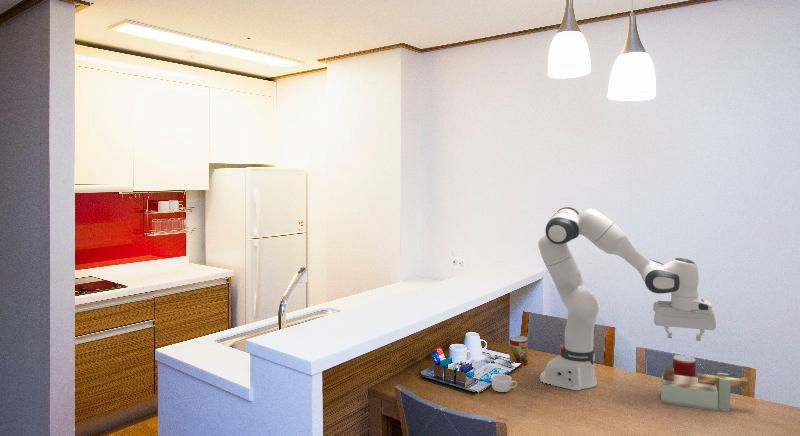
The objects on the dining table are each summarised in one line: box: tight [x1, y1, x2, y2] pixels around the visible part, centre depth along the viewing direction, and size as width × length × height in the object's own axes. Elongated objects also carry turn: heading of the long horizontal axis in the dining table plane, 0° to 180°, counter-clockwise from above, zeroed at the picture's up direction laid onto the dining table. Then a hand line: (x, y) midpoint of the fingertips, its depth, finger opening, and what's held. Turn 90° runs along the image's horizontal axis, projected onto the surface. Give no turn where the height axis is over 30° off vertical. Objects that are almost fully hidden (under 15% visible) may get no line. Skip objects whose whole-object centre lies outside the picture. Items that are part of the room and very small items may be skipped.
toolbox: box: [660, 372, 732, 413], centre depth 201 cm, size 22×9×12 cm, turn 66°
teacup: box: [490, 373, 518, 393], centre depth 215 cm, size 10×8×5 cm
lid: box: [662, 366, 717, 392], centre depth 201 cm, size 17×9×5 cm, turn 65°
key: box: [697, 372, 749, 391], centre depth 197 cm, size 16×4×3 cm, turn 66°
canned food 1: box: [509, 335, 529, 367], centre depth 243 cm, size 8×8×12 cm
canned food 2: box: [672, 354, 697, 377], centre depth 218 cm, size 8×8×11 cm
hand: (683, 339), depth 201 cm, fingers open, 8 cm apart
